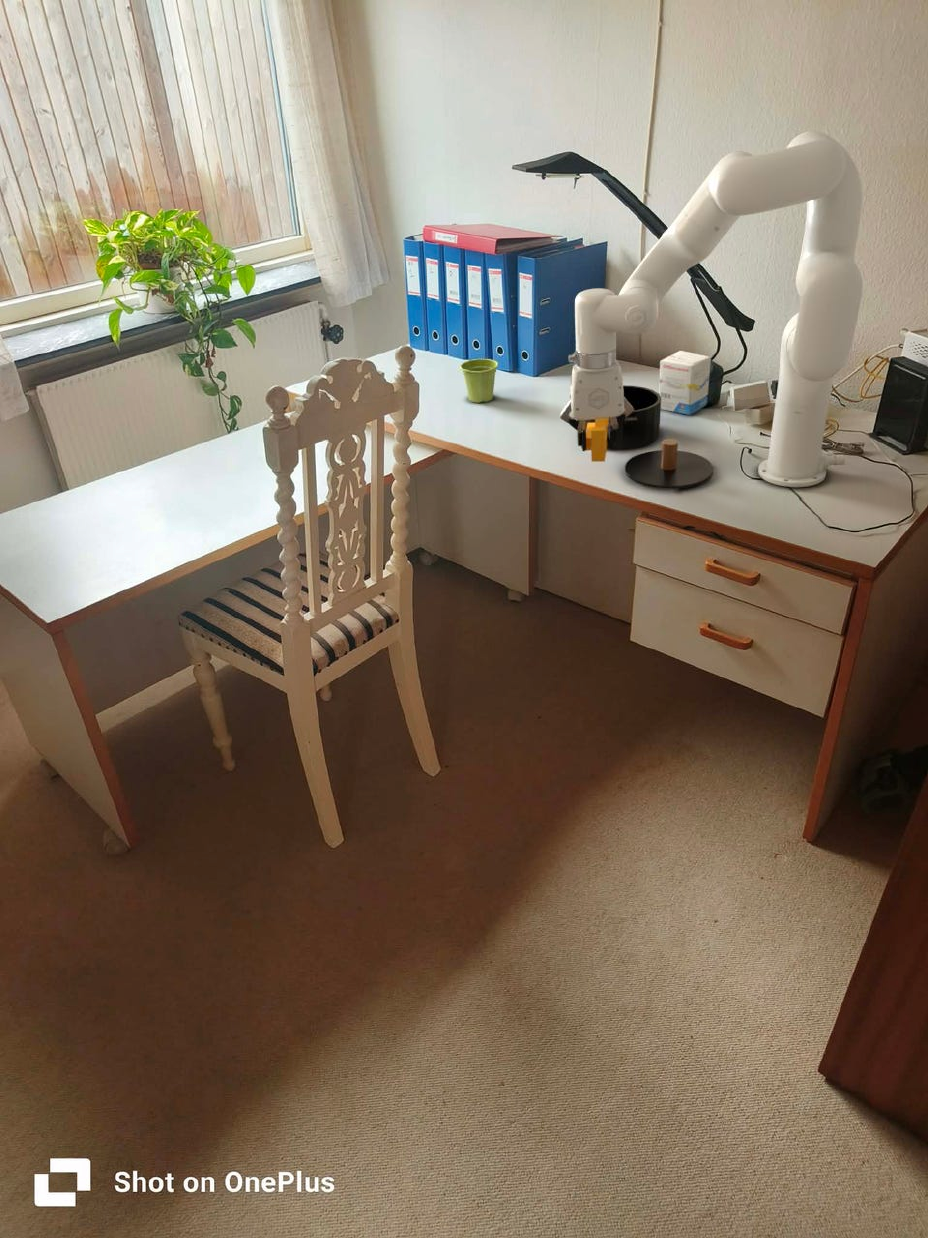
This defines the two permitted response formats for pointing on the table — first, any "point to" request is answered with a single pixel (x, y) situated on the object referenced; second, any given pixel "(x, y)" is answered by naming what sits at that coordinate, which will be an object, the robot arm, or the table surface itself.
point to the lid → (669, 468)
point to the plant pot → (479, 378)
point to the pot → (638, 419)
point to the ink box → (684, 382)
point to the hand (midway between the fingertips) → (597, 446)
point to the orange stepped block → (597, 439)
